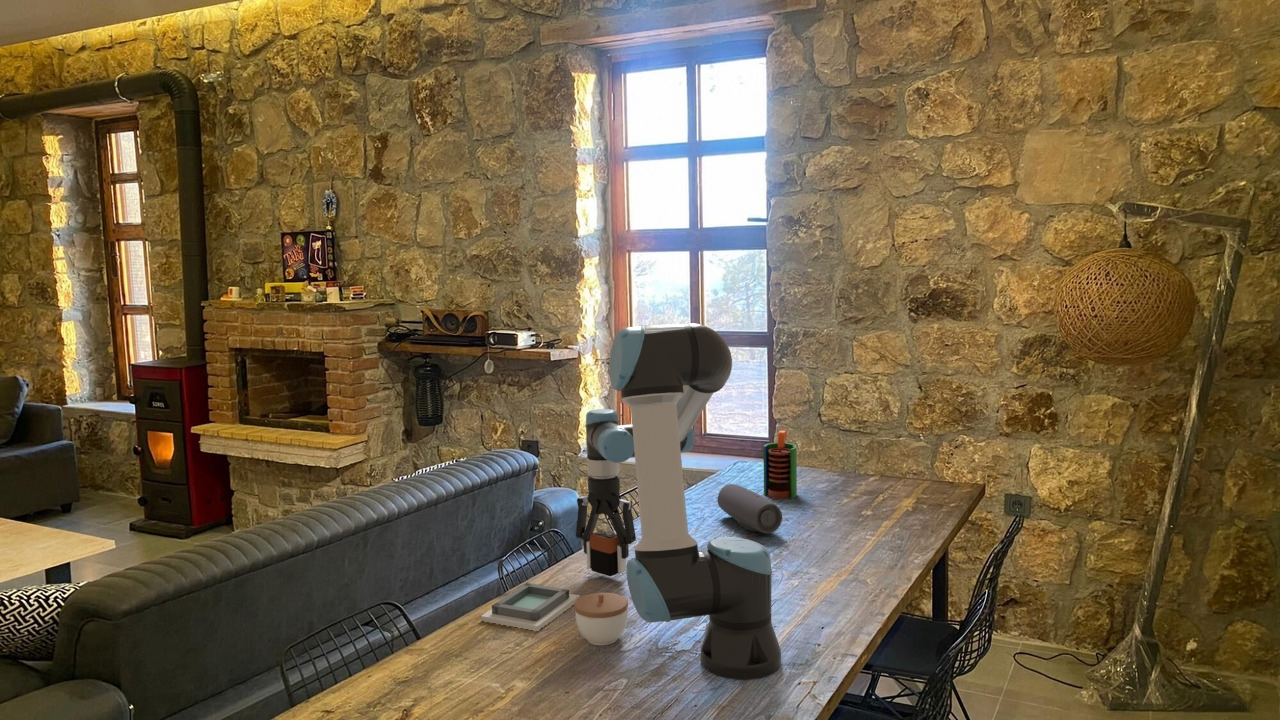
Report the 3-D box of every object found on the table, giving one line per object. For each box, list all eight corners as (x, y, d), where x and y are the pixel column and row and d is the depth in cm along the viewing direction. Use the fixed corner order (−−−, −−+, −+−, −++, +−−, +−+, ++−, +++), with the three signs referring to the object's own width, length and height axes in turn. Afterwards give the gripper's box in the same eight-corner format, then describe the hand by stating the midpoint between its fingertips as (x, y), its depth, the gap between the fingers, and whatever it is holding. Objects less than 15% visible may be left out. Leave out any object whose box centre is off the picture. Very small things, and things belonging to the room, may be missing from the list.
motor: (762, 497, 283) (761, 434, 281) (766, 490, 292) (766, 428, 289) (795, 499, 280) (794, 435, 278) (798, 492, 289) (798, 429, 286)
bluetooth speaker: (784, 535, 246) (784, 499, 245) (754, 540, 243) (753, 503, 242) (744, 513, 267) (744, 480, 266) (715, 517, 264) (715, 483, 263)
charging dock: (537, 631, 188) (536, 617, 188) (481, 621, 194) (480, 607, 194) (579, 600, 205) (579, 587, 204) (526, 591, 211) (526, 579, 210)
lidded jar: (600, 623, 192) (598, 580, 191) (639, 636, 185) (638, 592, 184) (564, 641, 184) (562, 596, 182) (604, 655, 177) (603, 609, 176)
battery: (610, 577, 214) (609, 535, 213) (590, 571, 219) (588, 530, 218) (623, 572, 217) (622, 531, 216) (603, 566, 222) (601, 526, 221)
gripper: (649, 474, 214) (652, 569, 217) (573, 468, 223) (576, 559, 226) (635, 482, 208) (638, 579, 210) (558, 475, 216) (561, 568, 219)
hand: (606, 568), depth 218 cm, fingers closed on battery, 7 cm apart
